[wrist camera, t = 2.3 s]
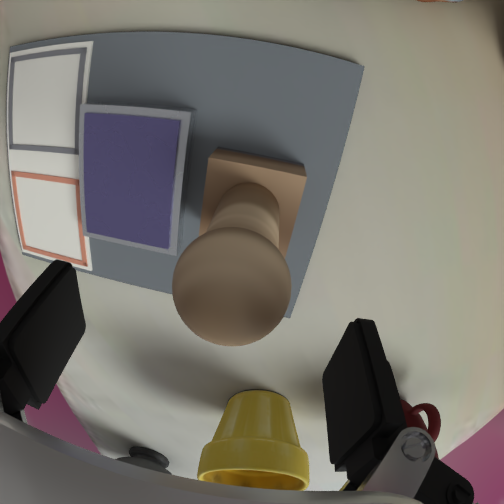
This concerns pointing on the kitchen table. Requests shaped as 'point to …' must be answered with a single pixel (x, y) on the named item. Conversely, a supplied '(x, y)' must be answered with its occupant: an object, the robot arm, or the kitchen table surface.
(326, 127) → the desk mat
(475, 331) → the kitchen table surface
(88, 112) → the ink pad
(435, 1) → the lucky cat figurine
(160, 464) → the pitcher
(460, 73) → the kitchen table surface
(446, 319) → the kitchen table surface
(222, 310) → the stamp
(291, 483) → the plant pot
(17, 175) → the paper sheet
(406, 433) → the robot arm
